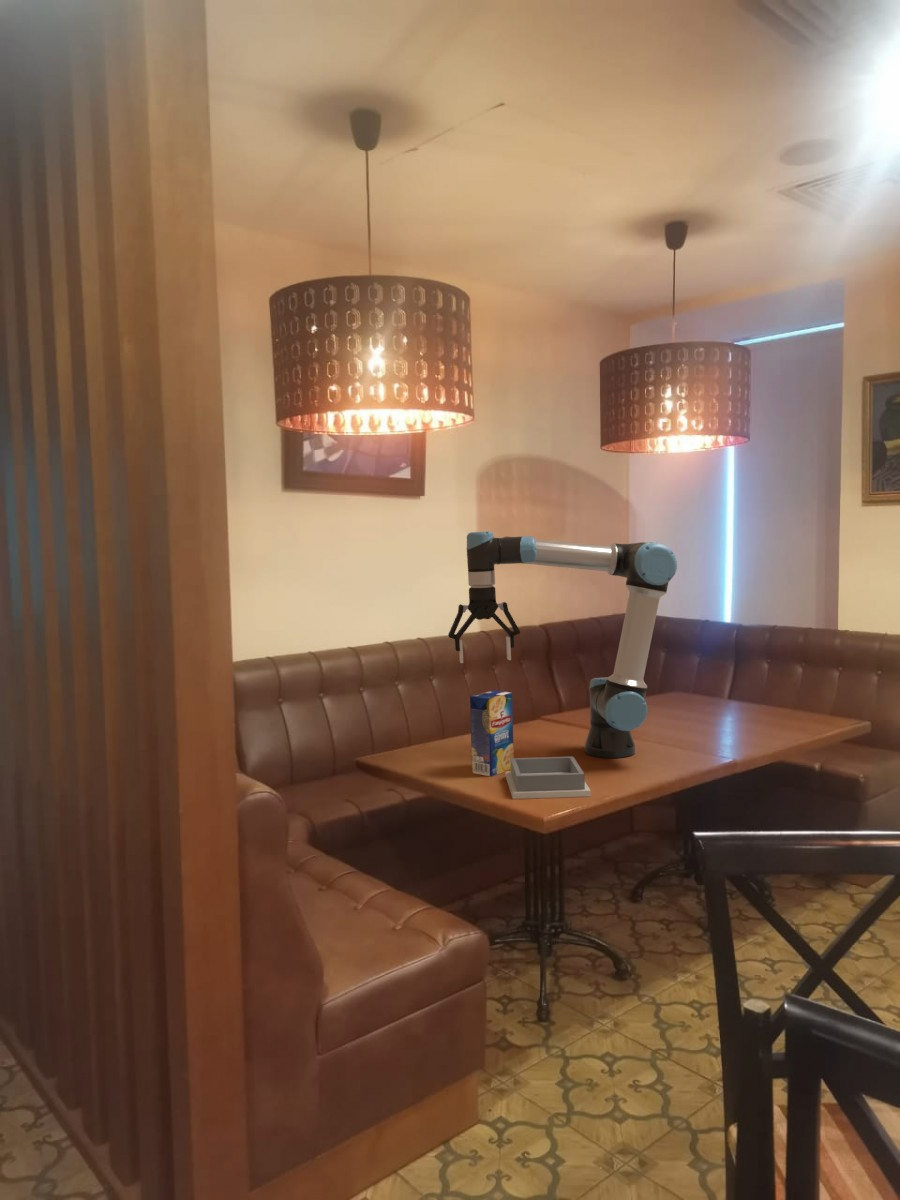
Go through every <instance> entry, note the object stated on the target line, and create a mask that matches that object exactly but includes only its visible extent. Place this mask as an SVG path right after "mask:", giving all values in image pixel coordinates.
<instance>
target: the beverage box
mask: <svg viewBox="0 0 900 1200" xmlns="http://www.w3.org/2000/svg"><path fill="white" fill-rule="evenodd" d="M469 699H470V700H469V703H470V705H469V708H470V740H471V741H470V746H471V747H470V748H471V749H470V751H471V773H472V774H476V775H482V776H486V777H491V778H492V777H494V776H497V775H500V774H501V773H504V772H505V773H506V772H507V771H509V770H510V771H511V763H510V758H515V755H514V752H515V751H514V719H513V717H514V716H513V715H514V712H513V711H514V710H513V709H514V708H513V692H509V691H503V690H493V689H492V690H488V691H485V692H481V693H478V694H473V695H471V696H469Z"/></svg>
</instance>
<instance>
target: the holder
mask: <svg viewBox="0 0 900 1200" xmlns="http://www.w3.org/2000/svg"><path fill="white" fill-rule="evenodd" d="M510 763H511V769H510V771H509V770H507V771H505V779H506V781H507V785H508V789H509V791H510V794H511V798H512V800H519V799H521V800H523V799H526V800H527V799H550V798H551V799H552V798H553V799H555V798H559V799H560V798H584V797H585V798H587V797H592V791H591V789H590V787H589V785H588V784H587V782H586V780H585V779H586V778H585V773H584V771H583V769H582V768H581V766H580V765H579V763H578V761H577V760H576V758H575V757H574V756H549V757H547V756H546V757H545V756H544V757H542V756H541V757H519V758H518V757H517V758H516V757H514V758H510Z"/></svg>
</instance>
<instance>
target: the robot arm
mask: <svg viewBox="0 0 900 1200" xmlns="http://www.w3.org/2000/svg"><path fill="white" fill-rule="evenodd" d="M466 558H467V560H466V561H467V576H468V578H467V581H468V582H467V583H468V586H470V587H469V588H468V598H469V599H468V605H467V604H461V603H460V604H458V609H457V613H456V616H455V618H454V620H453V623H452V625H451V627H450V629H449V632H448V634H447V636H448V638H449V639H453V640H454V646H455V647H454V649H455V651H456V652H459V663H460V664H464V650H463V645H464V644H463V639H462V636H463V635H464V634H465V632H467V629H468V628H469V627H471V625H472V623H473V622H474V621H475V620H479V621H480V620H490V619H493V620H494V621H495V622H496V623H497V624H498V625H499V627H501V629H503V631H505V633H506V634H507V635H506V636H505V640H506V641H505V642H506V659H507V661H512V649H513V648H515V636H517V635H519V634H520V633H521V630H520V628H519V627H518V624H517V623H516V622H515V620H514V618H513V616H512V614H511V612H510V611H509V606H508V603H507V602H506V601H503V602H499V603H498V602H497V597H496V595H497V593H496V587H495V586H494V585H496V576H495V565H512V564H521V565H522V564H523V565H524V564H525V565H526V564H527V565H536V566H546V567H557V568H567V569H577V570H588V571H600V572H605V573H607V574H608V575H609V576H616V577H622V578H626V581H625V587H626V588H627V590H628V591H629V594H628V599H627V603H626V604H627V605H626V609H625V613H624V619H623V622H622V623H623V624H622V629H621V635H620V638H619V639H620V640H619V644H618V649H617V654H616V657H615V658H616V659H615V664H614V669H613V673H612V674H611V675H609V676H608V677H594V678H592V679H590V682H589V687H588V689H589V717H590V720H589V721H590V727H589V731H588V733H587V737H586V739H585V743H584V752H585V753H586V755H589V756H592V757H597V758H603V759H604V758H607V759H609V758H610V759H613V758H614V759H618V758H619V759H620V758H626V757H631V756H633V755H635V754H636V744H635V741H634V739H633V735H632V732H631V731H633V730H636V729H637V728H639V727H640V726H641V725H643V723H644V722H645V721H646V719H647V716H648V711H649V710H648V709H649V708H648V705H647V701H646V697H647V696H646V695H647V690H648V684H646V683H645V680H644V677H645V673H646V668H647V662H648V658H649V652H650V648H651V643H652V638H653V634H654V628H655V623H656V619H657V614H658V609H659V603H660V600H661V598H662V597H663V596H664V595H666V594H667V592H668V586H669V582H670V581H671V580H672V579H673V578H674V576H675V575H676V573H677V569H678V563H677V558H676V555H675V553H674V551H673V550H672V549H671V548H670V547H668V546H667V545H666V544H663V543H659V542H654V541H653V542H652V541H650V542H643V541H642V542H636V543H634V542H633V543H611V544H610V545H598V544H589V543H588V544H587V543H577V542H566V541H559V540H558V541H556V540H547V539H544V540H543V539H536V538H534V537H533V536H524V535H523V536H503V537H494V534H493V531H489V530H488V531H472V532H471V531H470V532H469V533H467V535H466ZM498 608H499V610H500V611H503V613H504V615H505V617H506V619H507V621H508V623H509V625H510V627H512V630H511V628H509V627H508V625H506V624H505V622H504V621H503V620H502V619H501V618H500V616H498V615H497V614H496V612H497V610H498ZM467 610H468V611H469V612H470V615H469V616H468V617H467V619H466V620H465V622H464V623H463V625H462V626H461V627H460V628H459V630H458V631H457V629H458V627H459V624H460V621H461V619H462V616H463V614H465V613H466V612H467ZM456 631H457V632H456Z"/></svg>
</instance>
